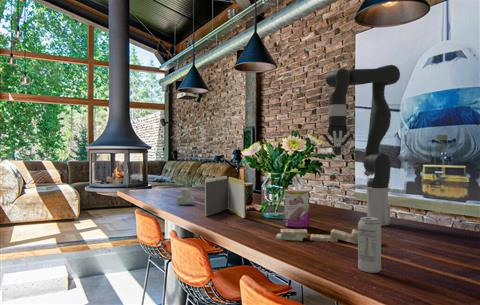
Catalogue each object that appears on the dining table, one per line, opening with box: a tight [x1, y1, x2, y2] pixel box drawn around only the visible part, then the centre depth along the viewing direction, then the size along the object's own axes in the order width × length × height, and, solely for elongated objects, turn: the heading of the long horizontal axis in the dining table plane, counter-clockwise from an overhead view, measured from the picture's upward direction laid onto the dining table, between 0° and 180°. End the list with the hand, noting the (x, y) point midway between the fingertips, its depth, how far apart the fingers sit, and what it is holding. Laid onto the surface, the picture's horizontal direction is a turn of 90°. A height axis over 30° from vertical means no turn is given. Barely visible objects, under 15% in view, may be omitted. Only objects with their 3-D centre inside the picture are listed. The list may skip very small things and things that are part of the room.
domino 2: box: [280, 228, 308, 239], centre depth 140 cm, size 2×5×10 cm
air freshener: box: [176, 188, 195, 206], centre depth 234 cm, size 11×8×10 cm
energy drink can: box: [357, 216, 382, 274], centre depth 102 cm, size 6×6×15 cm
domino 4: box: [329, 228, 358, 245], centre depth 136 cm, size 2×5×10 cm
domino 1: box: [275, 232, 304, 242], centre depth 141 cm, size 2×5×10 cm
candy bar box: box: [283, 189, 310, 229], centre depth 164 cm, size 11×5×16 cm, turn 84°
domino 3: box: [309, 233, 339, 243], centre depth 139 cm, size 2×5×10 cm
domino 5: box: [350, 228, 382, 243], centre depth 133 cm, size 2×5×10 cm
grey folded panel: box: [204, 175, 247, 219], centre depth 199 cm, size 35×22×20 cm, turn 18°
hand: (337, 155), depth 159 cm, fingers closed
